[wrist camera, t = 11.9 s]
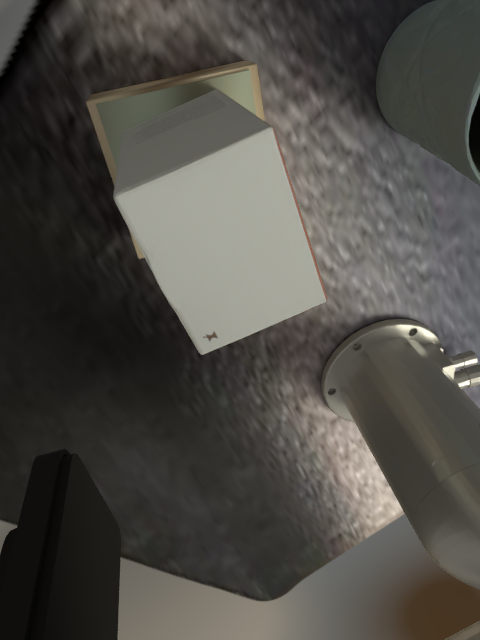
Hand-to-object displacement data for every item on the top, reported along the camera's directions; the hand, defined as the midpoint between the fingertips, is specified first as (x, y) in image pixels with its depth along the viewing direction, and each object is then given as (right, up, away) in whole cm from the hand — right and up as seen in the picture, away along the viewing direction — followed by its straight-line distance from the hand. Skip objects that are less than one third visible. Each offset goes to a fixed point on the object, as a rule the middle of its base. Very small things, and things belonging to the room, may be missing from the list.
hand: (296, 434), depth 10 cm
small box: (-4, +12, +19) cm, 23 cm away
